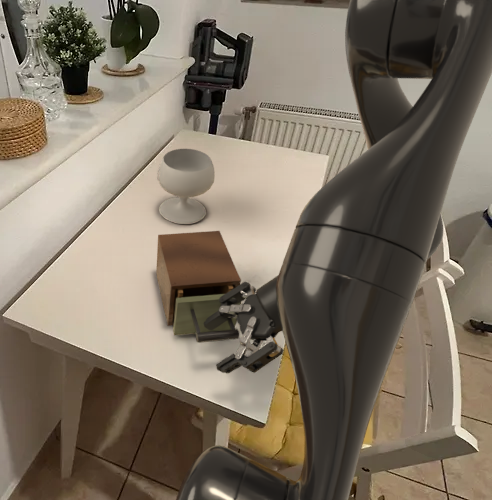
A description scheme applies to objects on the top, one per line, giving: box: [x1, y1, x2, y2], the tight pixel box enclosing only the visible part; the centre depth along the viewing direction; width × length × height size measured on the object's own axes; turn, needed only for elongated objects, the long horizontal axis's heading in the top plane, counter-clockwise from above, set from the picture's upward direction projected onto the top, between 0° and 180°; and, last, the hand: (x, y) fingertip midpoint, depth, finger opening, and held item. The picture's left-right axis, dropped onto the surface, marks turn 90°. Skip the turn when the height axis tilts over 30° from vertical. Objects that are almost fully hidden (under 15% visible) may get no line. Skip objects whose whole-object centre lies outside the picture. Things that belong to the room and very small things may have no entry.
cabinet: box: [155, 230, 242, 327], centre depth 85 cm, size 15×13×11 cm
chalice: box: [156, 148, 216, 225], centre depth 107 cm, size 14×14×15 cm
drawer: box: [172, 285, 242, 343], centre depth 80 cm, size 20×12×9 cm, turn 7°
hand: (212, 347), depth 71 cm, fingers open, 8 cm apart
